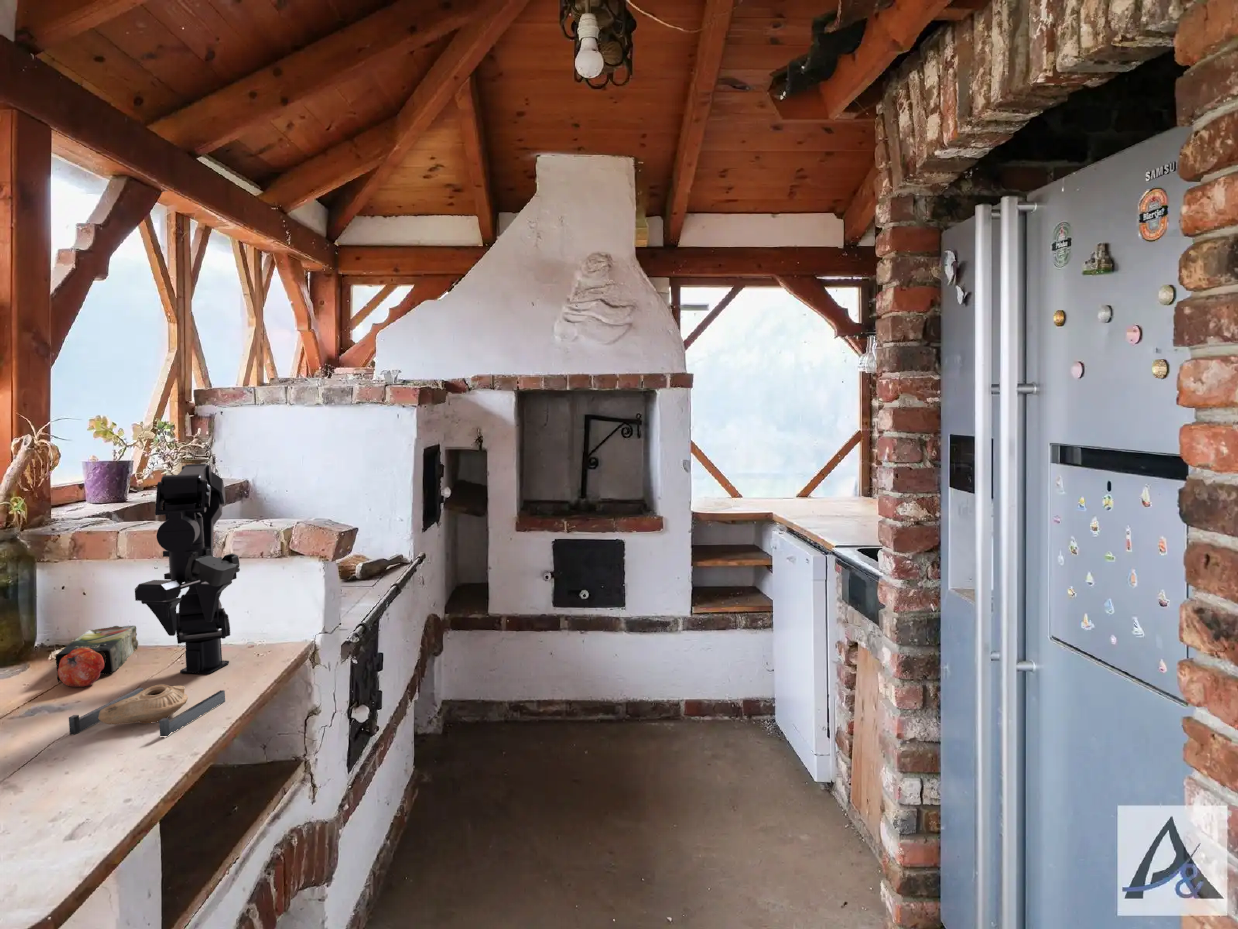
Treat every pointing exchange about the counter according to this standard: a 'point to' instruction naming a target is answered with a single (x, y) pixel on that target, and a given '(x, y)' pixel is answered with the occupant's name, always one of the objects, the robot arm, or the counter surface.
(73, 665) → the red round fruit
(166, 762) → the counter surface
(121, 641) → the juice carton
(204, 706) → the steel chute
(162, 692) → the pottery oil lamp
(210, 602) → the robot arm
